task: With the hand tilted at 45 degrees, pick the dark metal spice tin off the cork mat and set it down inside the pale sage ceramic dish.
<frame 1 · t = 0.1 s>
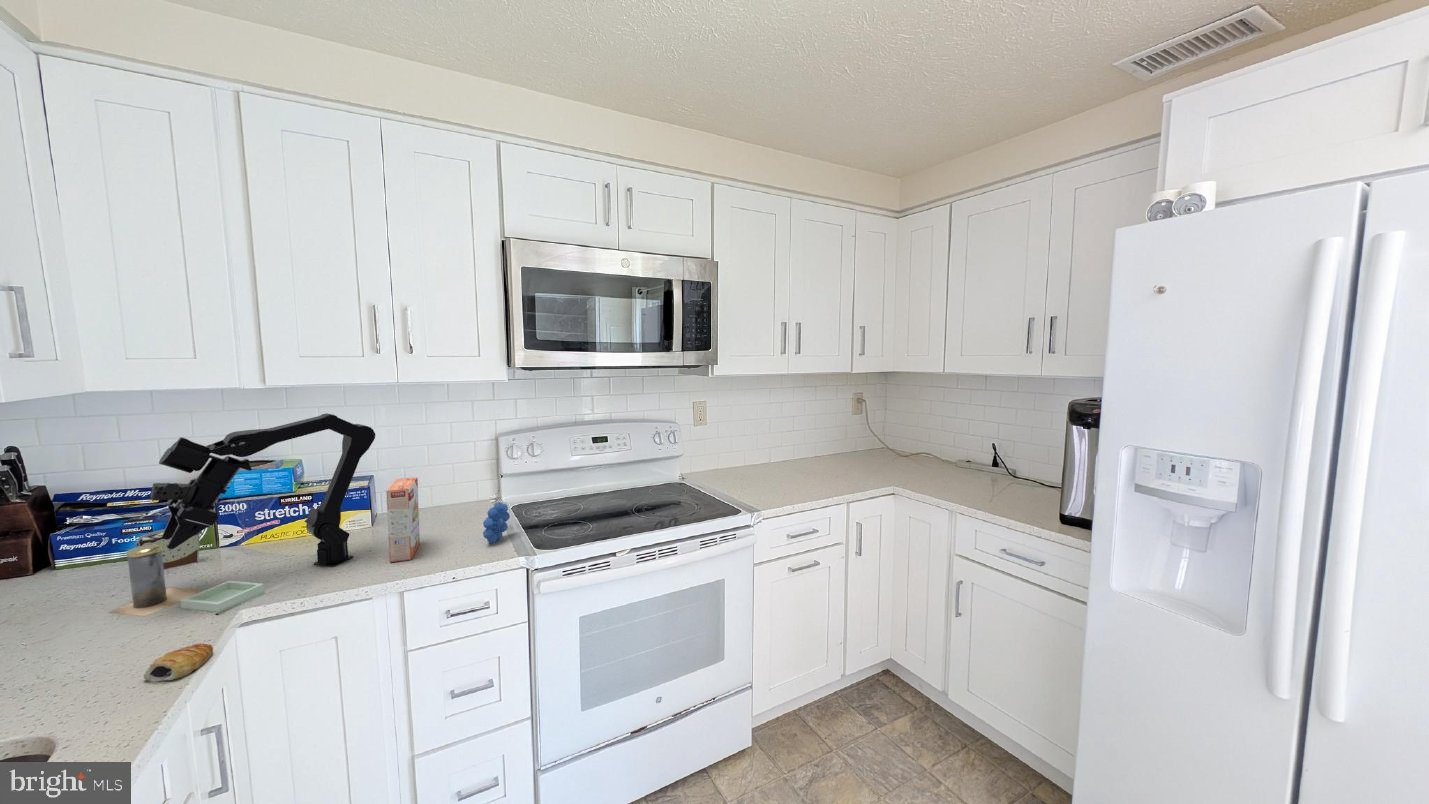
hand: (167, 543, 116), 15 cm above the worktop, tool tilted 35°, fingers open, 9 cm apart
cork mat: (159, 603, 118), on the worktop
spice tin: (150, 602, 117), point 1 cm above the worktop, touching cork mat
dish: (224, 602, 119), on the worktop
pastry: (180, 670, 94), on the worktop
grapes: (494, 541, 158), on the worktop
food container: (172, 567, 138), on the worktop
cracker box: (406, 553, 148), on the worktop
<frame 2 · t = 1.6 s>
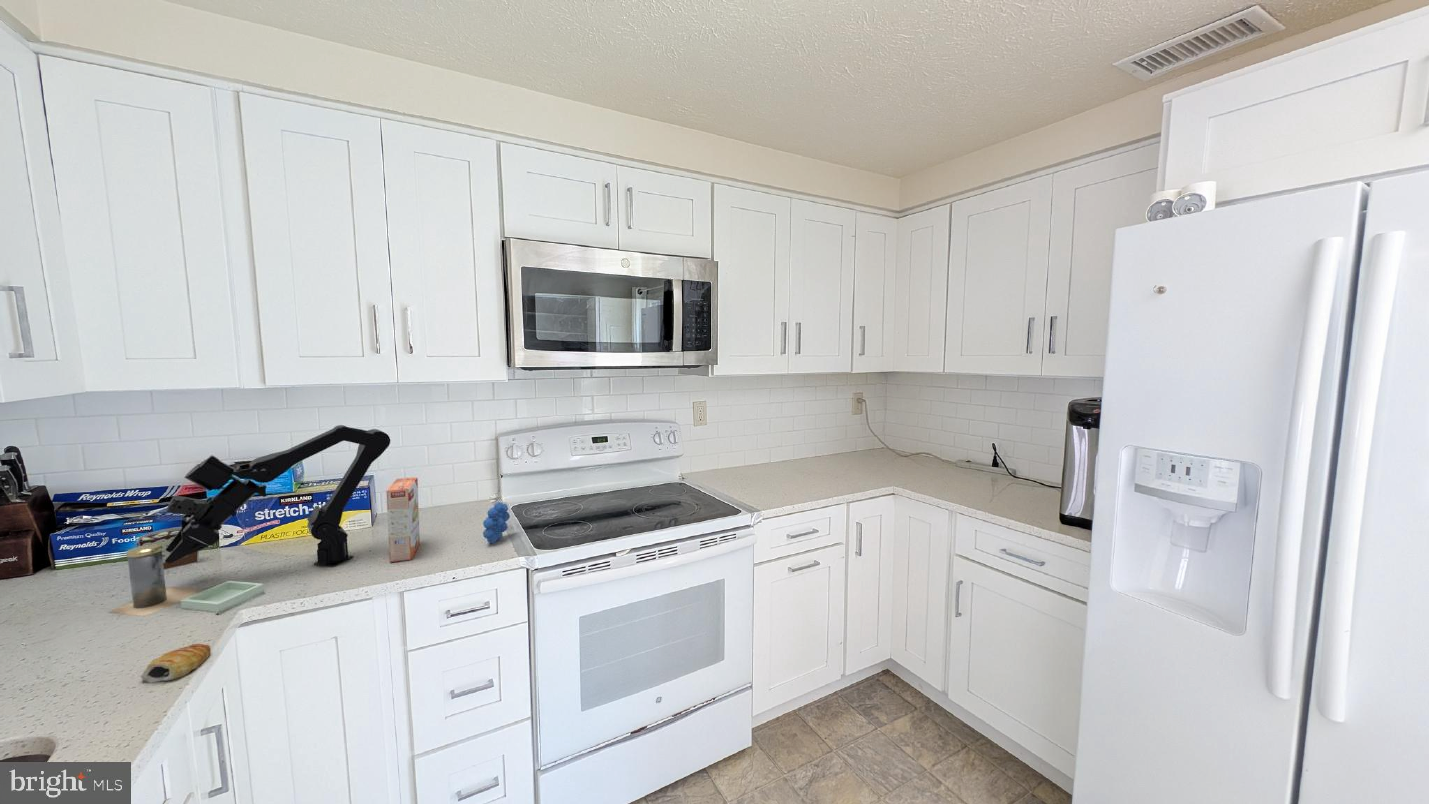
hand: (167, 556, 118), 11 cm above the worktop, tool tilted 45°, fingers open, 9 cm apart
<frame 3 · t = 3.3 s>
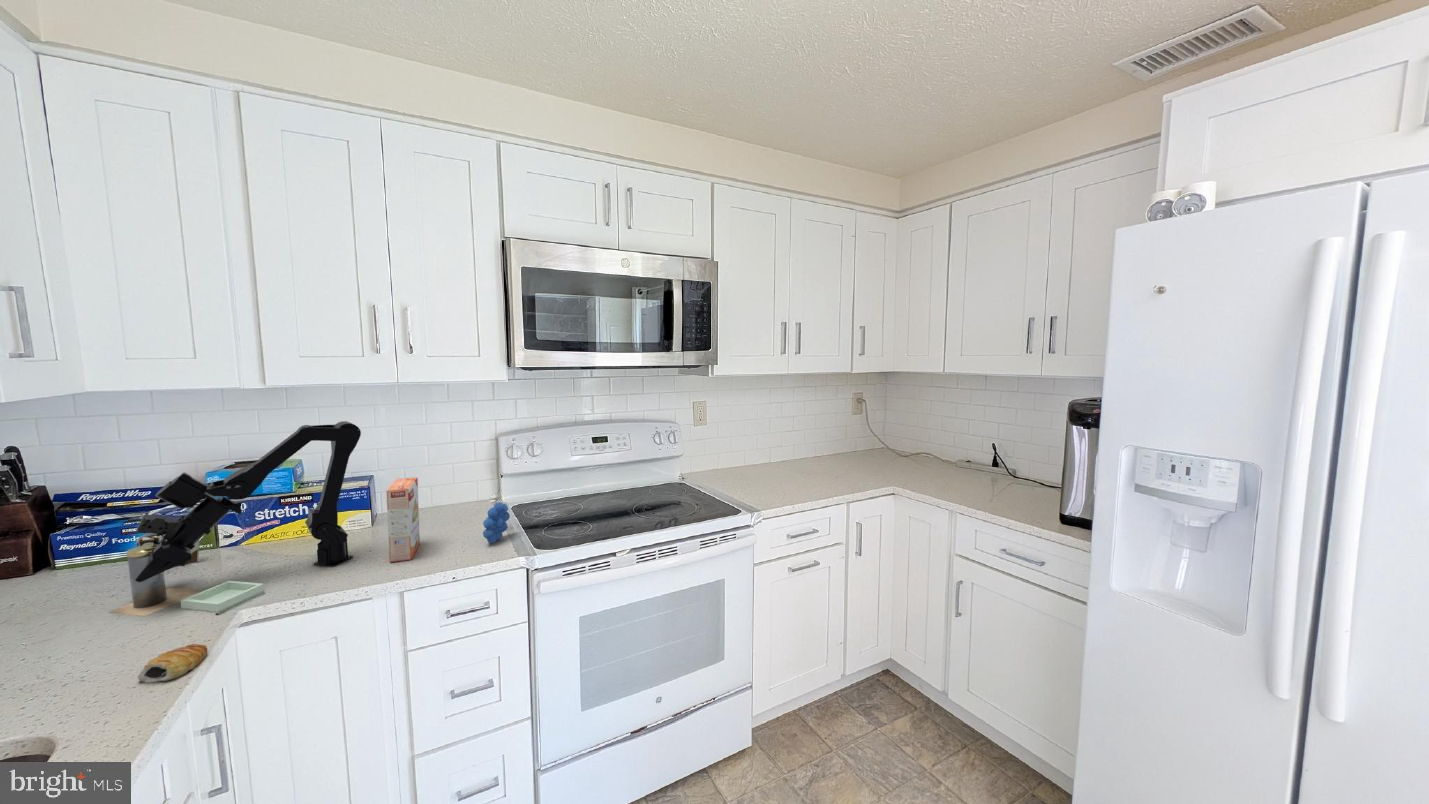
hand: (138, 577, 115), 7 cm above the worktop, tool tilted 45°, fingers closed on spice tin, 5 cm apart
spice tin: (150, 602, 117), point 1 cm above the worktop, touching cork mat, gripper
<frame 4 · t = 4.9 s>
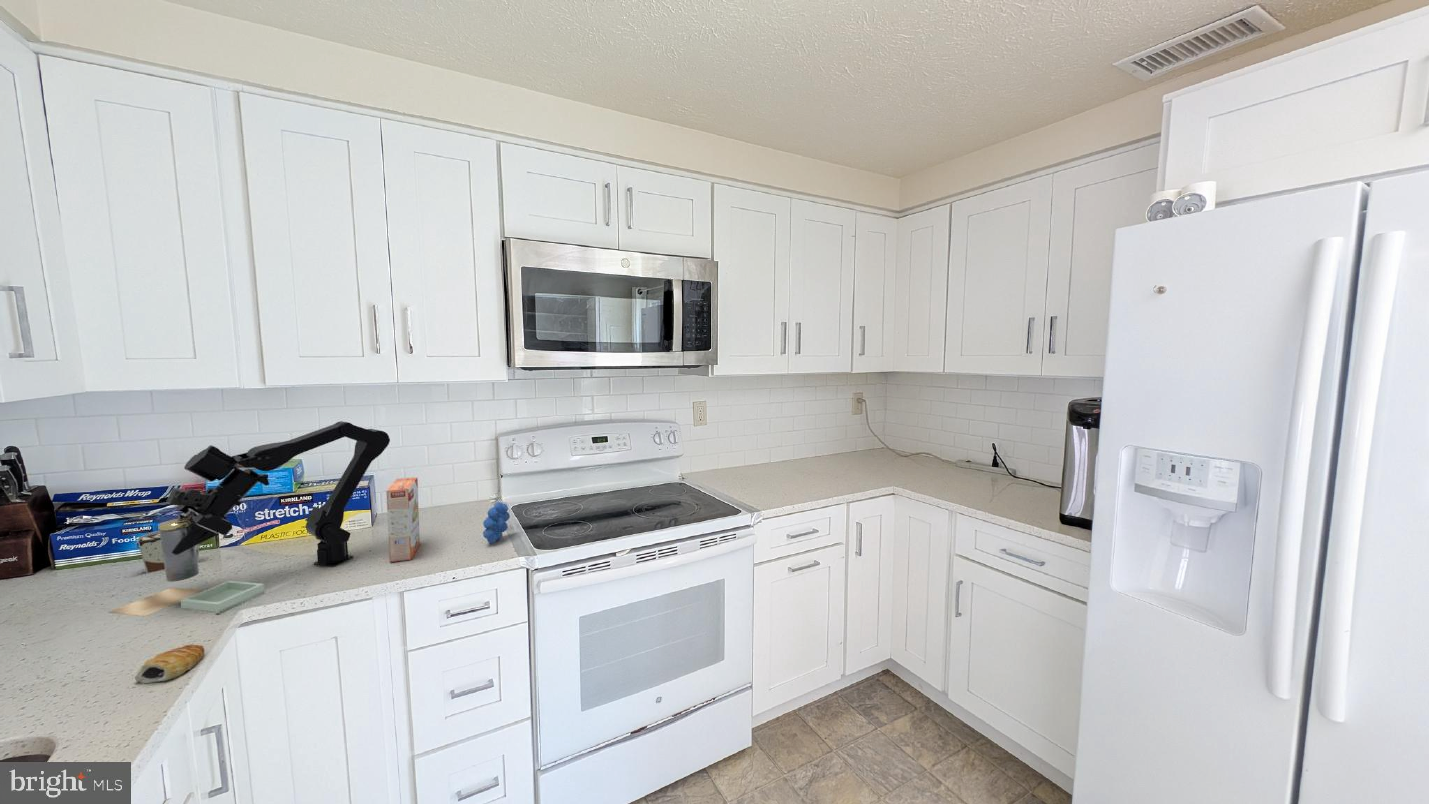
hand: (170, 551, 115), 13 cm above the worktop, tool tilted 45°, fingers closed on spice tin, 5 cm apart
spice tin: (183, 576, 116), point 7 cm above the worktop, touching gripper
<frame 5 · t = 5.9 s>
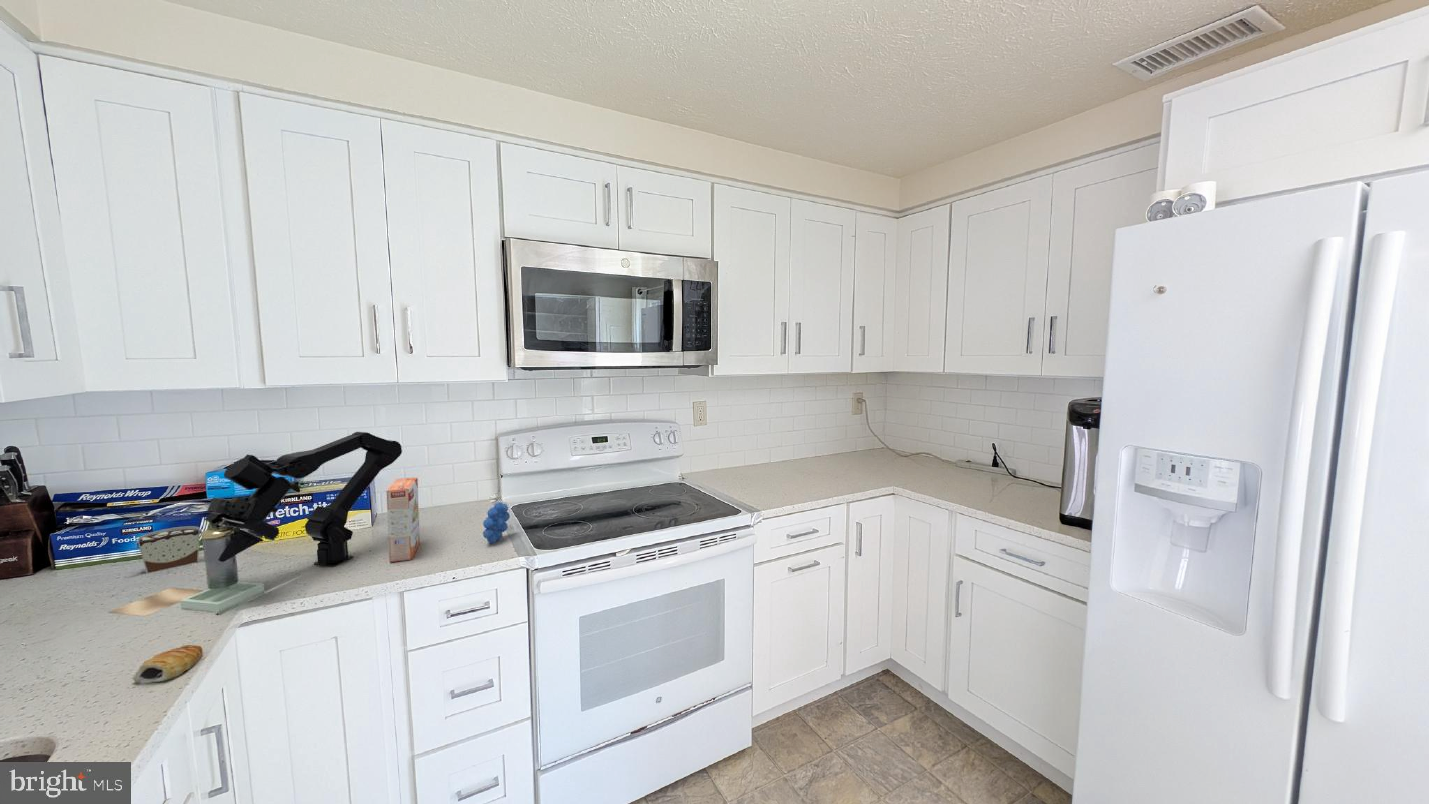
hand: (213, 559, 116), 11 cm above the worktop, tool tilted 45°, fingers closed on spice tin, 5 cm apart
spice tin: (223, 583, 118), point 4 cm above the worktop, touching gripper
when the fingers open (9 cm above the worktop, at t = 6.6 s): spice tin drops 1 cm, resting on dish.
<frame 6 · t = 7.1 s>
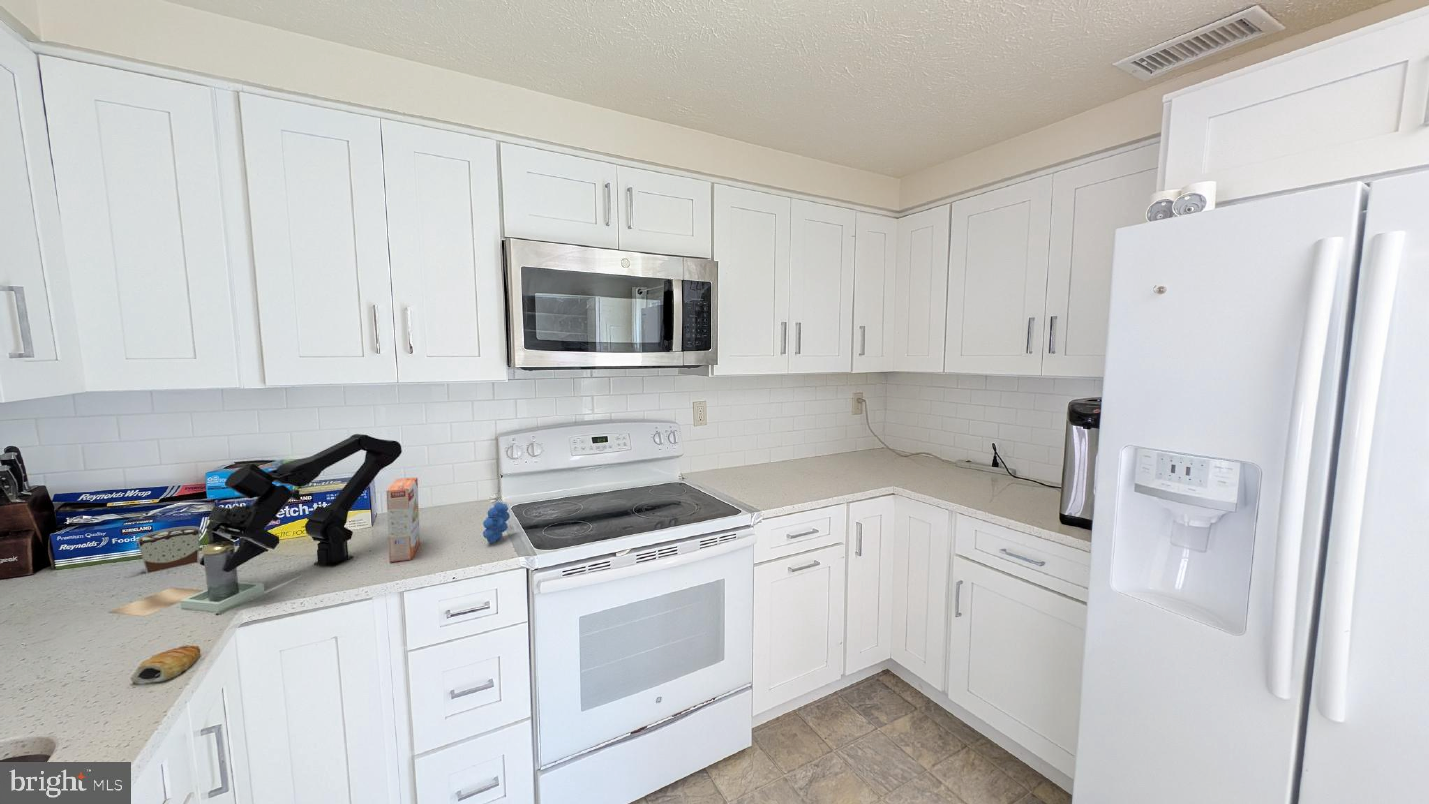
hand: (213, 568, 116), 9 cm above the worktop, tool tilted 45°, fingers open, 9 cm apart
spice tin: (224, 598, 119), point 1 cm above the worktop, touching dish
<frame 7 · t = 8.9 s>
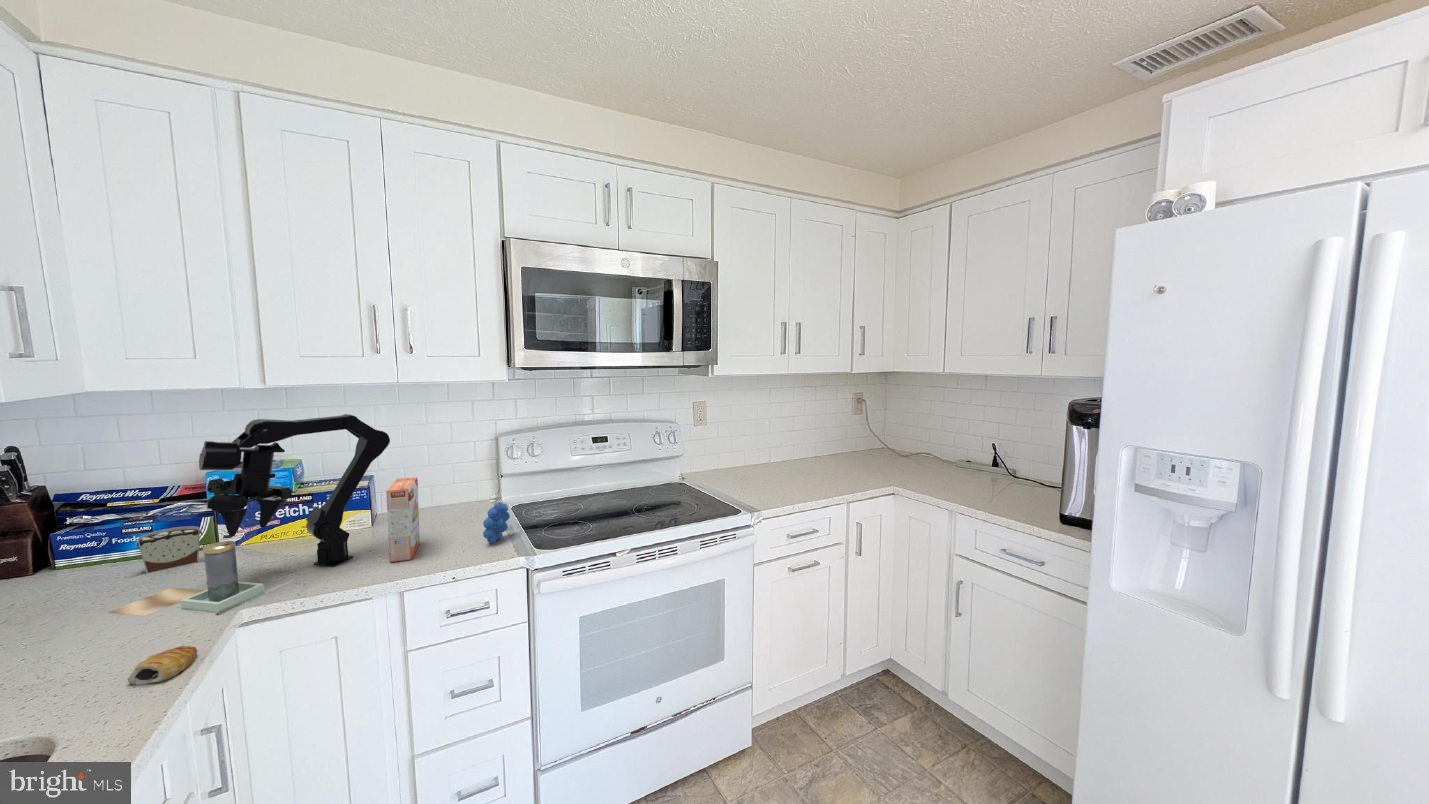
hand: (247, 531, 127), 14 cm above the worktop, tool pointing down, fingers open, 9 cm apart
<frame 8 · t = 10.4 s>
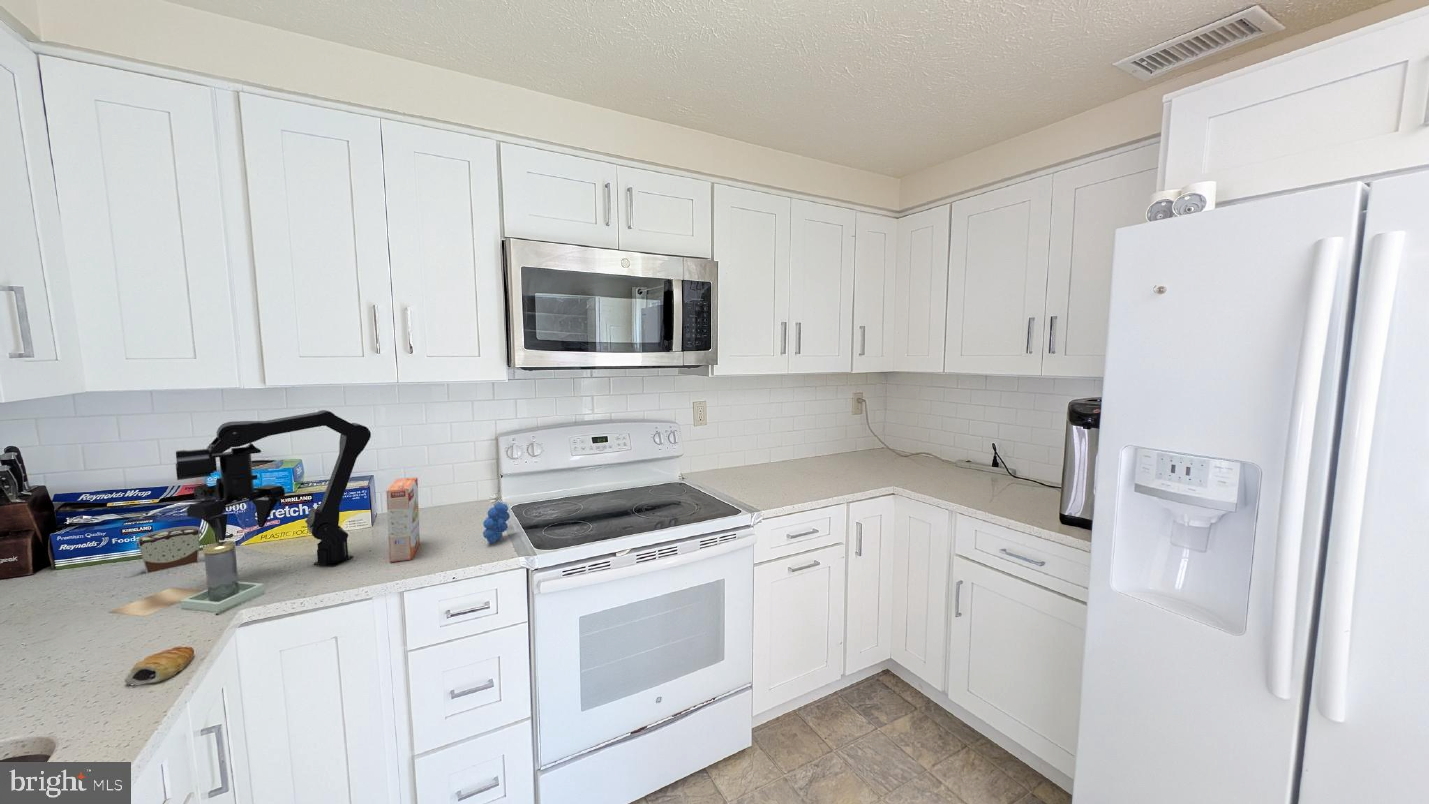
hand: (242, 533, 127), 13 cm above the worktop, tool pointing down, fingers open, 9 cm apart
at the end: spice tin inside the target area on the dish (0.1 cm from its centre), point 0.8 cm above the dish's base; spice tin tilted 0°; the gripper is holding nothing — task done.
